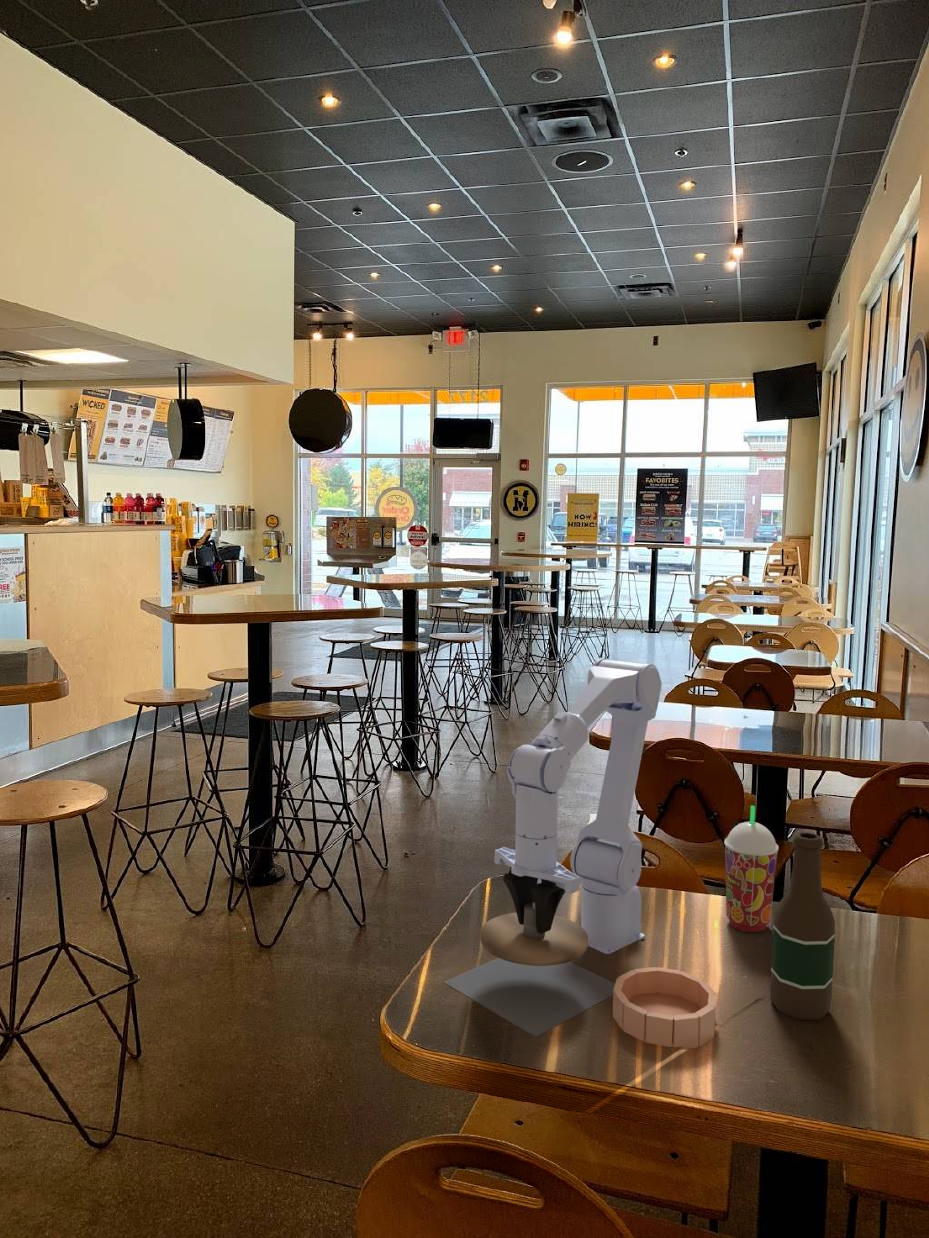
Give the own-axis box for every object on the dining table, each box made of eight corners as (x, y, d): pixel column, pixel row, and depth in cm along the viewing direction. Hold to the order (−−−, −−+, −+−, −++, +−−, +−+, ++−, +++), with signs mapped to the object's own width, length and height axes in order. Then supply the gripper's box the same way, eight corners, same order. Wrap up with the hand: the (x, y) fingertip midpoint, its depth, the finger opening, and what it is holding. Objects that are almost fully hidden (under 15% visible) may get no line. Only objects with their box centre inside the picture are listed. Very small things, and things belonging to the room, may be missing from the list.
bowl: (653, 985, 127) (654, 958, 127) (734, 1023, 117) (735, 994, 117) (593, 1018, 118) (594, 989, 118) (676, 1062, 109) (677, 1031, 108)
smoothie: (715, 913, 151) (720, 797, 148) (765, 914, 150) (771, 798, 148) (728, 936, 142) (733, 814, 140) (781, 937, 142) (787, 815, 140)
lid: (532, 908, 136) (533, 877, 135) (610, 943, 124) (611, 910, 124) (458, 936, 126) (458, 903, 125) (535, 977, 114) (536, 941, 114)
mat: (531, 946, 138) (531, 942, 138) (624, 991, 125) (624, 988, 125) (443, 985, 126) (443, 981, 126) (535, 1040, 113) (535, 1036, 113)
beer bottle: (829, 997, 124) (838, 829, 122) (832, 1026, 117) (842, 848, 114) (769, 987, 127) (777, 822, 124) (769, 1015, 119) (777, 841, 117)
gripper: (479, 825, 126) (478, 917, 128) (555, 853, 115) (553, 954, 117) (514, 814, 131) (513, 903, 132) (591, 841, 120) (589, 937, 121)
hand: (534, 926), depth 125 cm, fingers closed on lid, 3 cm apart
